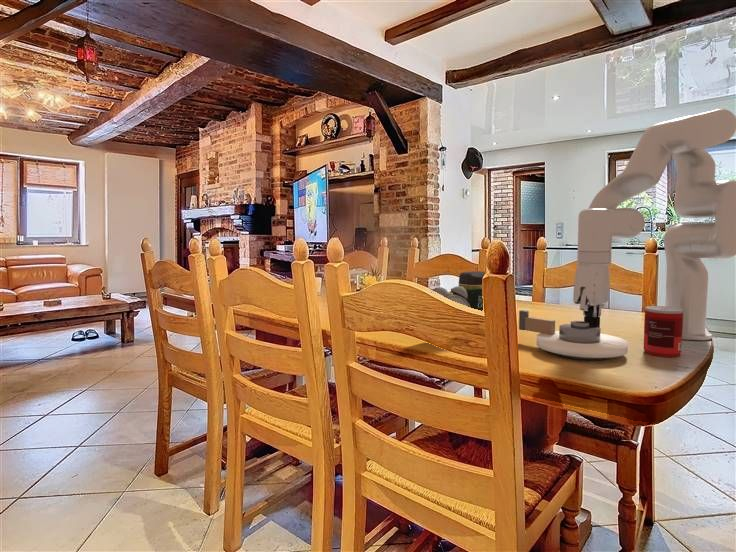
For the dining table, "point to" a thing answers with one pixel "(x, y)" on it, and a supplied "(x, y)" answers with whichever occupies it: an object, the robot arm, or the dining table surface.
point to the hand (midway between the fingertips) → (591, 331)
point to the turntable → (552, 343)
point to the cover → (579, 333)
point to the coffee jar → (473, 288)
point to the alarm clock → (454, 294)
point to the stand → (580, 357)
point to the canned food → (663, 331)
